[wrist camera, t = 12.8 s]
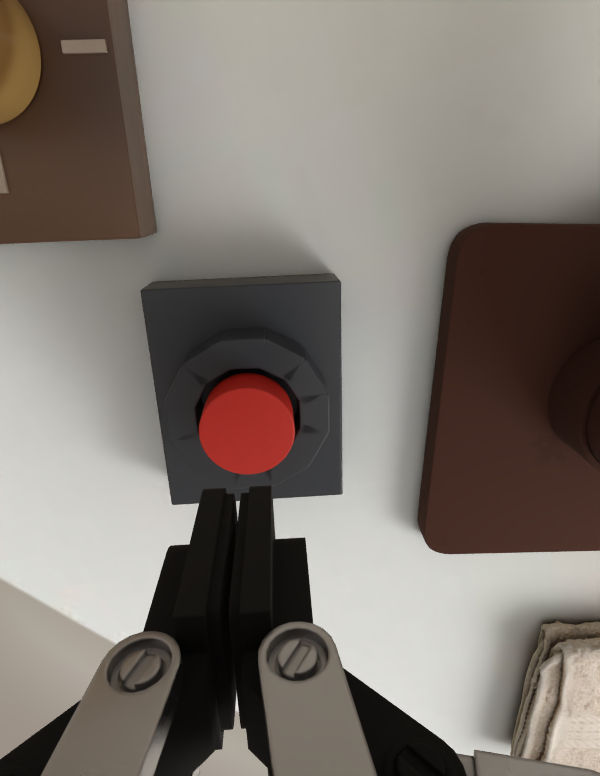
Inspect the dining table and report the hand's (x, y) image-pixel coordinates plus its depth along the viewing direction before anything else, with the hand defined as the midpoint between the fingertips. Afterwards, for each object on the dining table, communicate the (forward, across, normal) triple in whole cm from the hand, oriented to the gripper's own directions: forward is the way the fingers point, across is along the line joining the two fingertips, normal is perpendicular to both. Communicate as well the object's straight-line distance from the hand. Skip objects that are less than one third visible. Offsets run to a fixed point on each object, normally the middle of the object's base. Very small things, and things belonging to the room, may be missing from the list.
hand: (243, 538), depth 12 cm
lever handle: (+13, -17, +1) cm, 21 cm away
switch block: (+12, 0, +1) cm, 12 cm away
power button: (+9, 0, +1) cm, 9 cm away
